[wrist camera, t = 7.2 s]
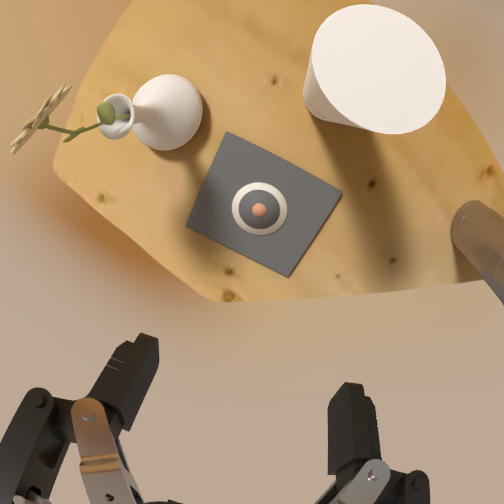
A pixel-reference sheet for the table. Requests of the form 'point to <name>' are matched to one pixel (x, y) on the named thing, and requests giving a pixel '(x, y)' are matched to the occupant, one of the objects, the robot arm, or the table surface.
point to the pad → (261, 205)
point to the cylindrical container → (374, 71)
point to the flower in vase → (135, 114)
